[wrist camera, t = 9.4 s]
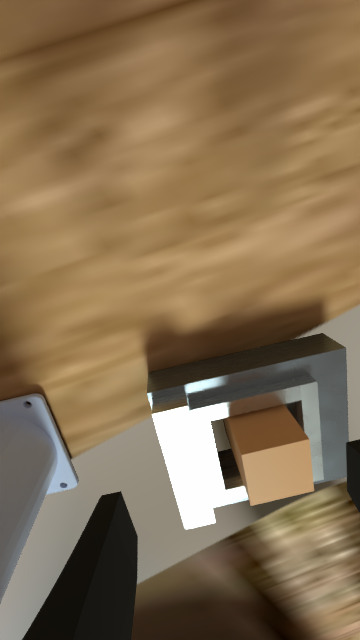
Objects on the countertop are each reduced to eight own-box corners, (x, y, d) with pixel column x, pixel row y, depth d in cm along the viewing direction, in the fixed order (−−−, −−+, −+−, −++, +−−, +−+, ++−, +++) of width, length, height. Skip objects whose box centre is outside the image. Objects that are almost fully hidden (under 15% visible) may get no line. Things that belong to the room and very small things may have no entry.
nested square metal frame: (179, 484, 22) (183, 535, 18) (148, 372, 19) (146, 407, 15) (329, 449, 22) (363, 493, 19) (322, 333, 19) (362, 358, 15)
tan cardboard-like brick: (225, 430, 21) (251, 505, 15) (217, 390, 20) (241, 455, 14) (271, 420, 21) (314, 490, 15) (265, 379, 20) (309, 439, 14)
